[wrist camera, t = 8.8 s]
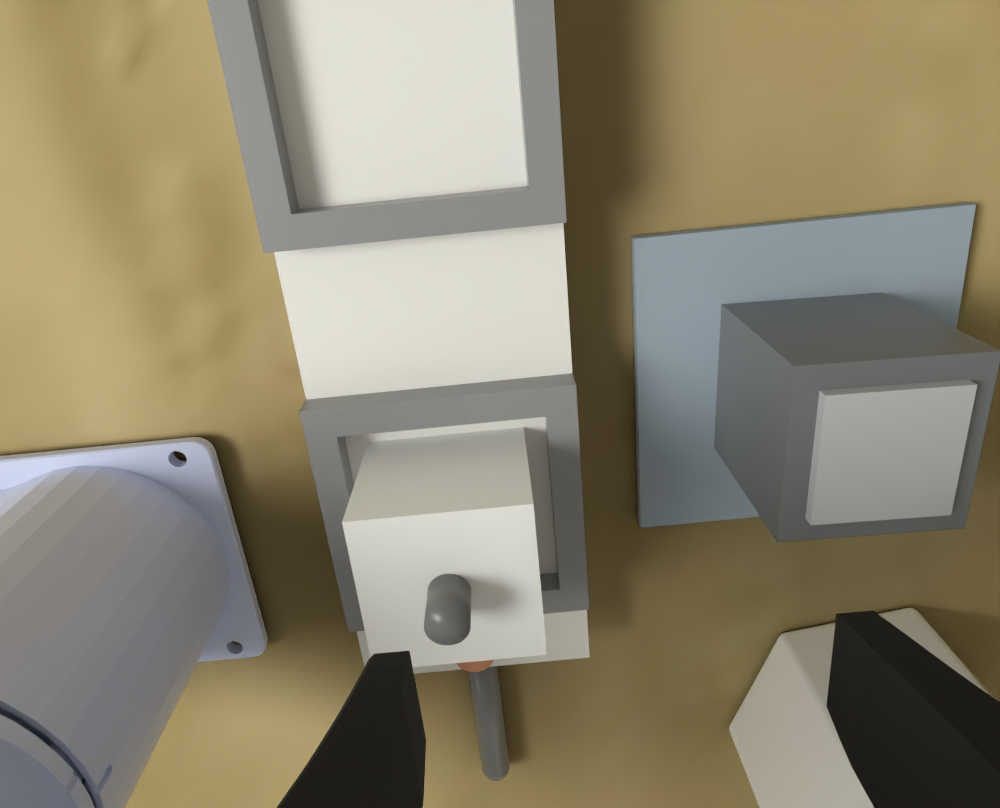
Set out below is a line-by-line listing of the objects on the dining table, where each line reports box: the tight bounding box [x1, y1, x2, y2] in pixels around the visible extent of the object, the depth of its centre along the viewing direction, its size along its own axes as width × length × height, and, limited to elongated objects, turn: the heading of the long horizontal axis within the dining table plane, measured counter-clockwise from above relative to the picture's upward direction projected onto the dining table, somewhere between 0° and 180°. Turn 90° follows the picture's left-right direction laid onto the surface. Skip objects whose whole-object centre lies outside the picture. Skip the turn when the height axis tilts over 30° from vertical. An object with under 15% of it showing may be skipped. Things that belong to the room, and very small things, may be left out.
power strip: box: [207, 0, 590, 781], centre depth 20 cm, size 7×28×3 cm, turn 5°
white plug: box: [342, 427, 547, 667], centre depth 18 cm, size 4×4×5 cm
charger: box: [714, 293, 1000, 542], centre depth 18 cm, size 4×4×5 cm
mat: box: [631, 202, 976, 528], centre depth 21 cm, size 9×9×1 cm
